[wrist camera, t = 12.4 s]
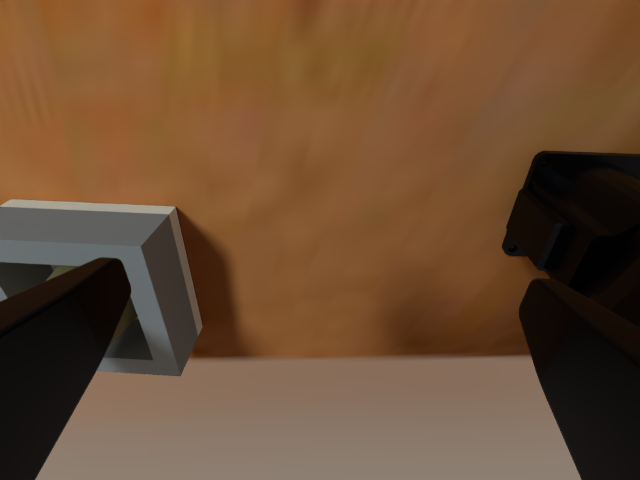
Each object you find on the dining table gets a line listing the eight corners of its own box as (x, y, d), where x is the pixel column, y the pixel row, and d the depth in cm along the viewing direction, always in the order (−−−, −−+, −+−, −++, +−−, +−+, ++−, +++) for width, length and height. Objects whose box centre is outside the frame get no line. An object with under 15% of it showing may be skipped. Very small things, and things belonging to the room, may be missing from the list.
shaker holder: (175, 206, 22) (140, 246, 18) (202, 326, 28) (180, 376, 24) (11, 199, 22) (-57, 236, 18) (71, 319, 28) (29, 366, 24)
